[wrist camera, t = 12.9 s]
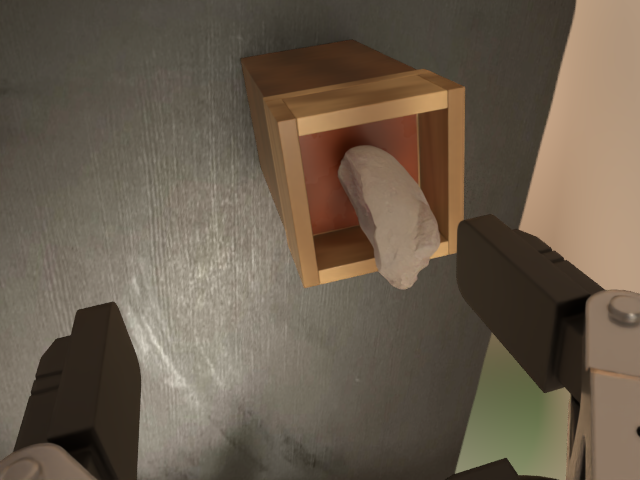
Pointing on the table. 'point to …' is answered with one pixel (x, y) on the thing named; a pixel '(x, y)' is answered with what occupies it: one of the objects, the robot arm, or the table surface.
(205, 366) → the table surface
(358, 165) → the fossil
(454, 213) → the open wooden box
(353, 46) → the plinth
